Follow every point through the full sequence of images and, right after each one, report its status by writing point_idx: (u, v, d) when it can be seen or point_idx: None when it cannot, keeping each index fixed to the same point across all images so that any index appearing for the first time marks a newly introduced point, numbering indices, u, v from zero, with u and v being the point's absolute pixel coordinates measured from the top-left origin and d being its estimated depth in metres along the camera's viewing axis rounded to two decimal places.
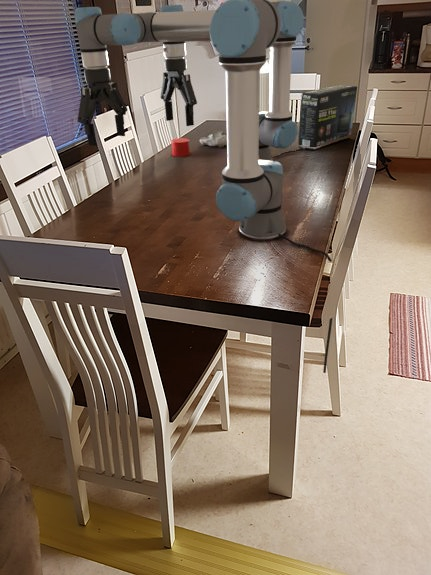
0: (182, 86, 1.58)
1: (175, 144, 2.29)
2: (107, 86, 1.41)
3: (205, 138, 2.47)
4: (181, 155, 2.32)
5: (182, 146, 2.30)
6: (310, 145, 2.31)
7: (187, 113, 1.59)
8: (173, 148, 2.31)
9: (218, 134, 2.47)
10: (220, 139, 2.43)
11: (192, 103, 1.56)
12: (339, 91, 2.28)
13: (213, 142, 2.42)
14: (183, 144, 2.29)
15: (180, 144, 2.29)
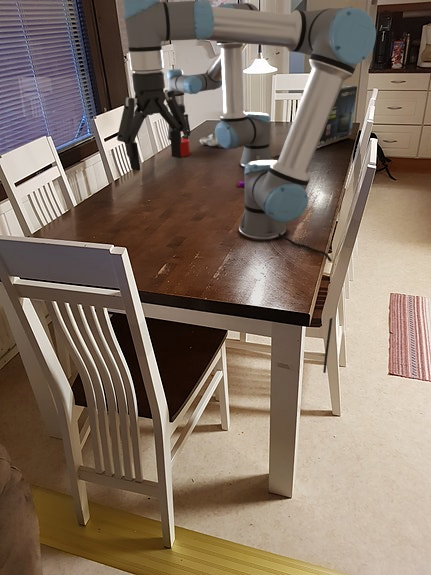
0: None
1: None
2: (160, 95, 1.09)
3: (205, 138, 2.47)
4: (181, 155, 2.32)
5: (182, 146, 2.30)
6: None
7: None
8: None
9: None
10: None
11: (169, 138, 2.25)
12: None
13: (213, 142, 2.42)
14: (183, 144, 2.29)
15: (180, 144, 2.29)
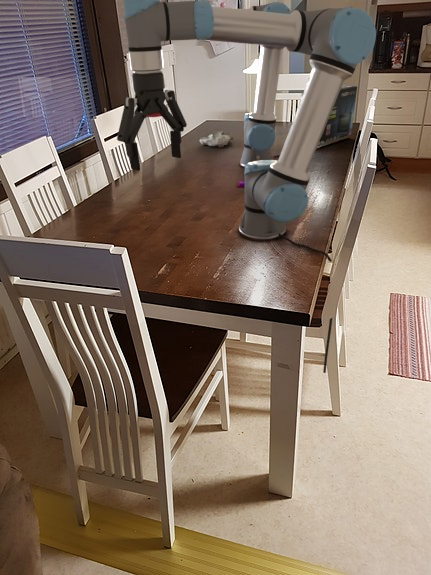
0: None
1: None
2: (160, 95, 1.09)
3: (205, 138, 2.47)
4: None
5: None
6: None
7: None
8: None
9: (218, 134, 2.47)
10: (220, 139, 2.43)
11: None
12: None
13: (213, 142, 2.42)
14: None
15: None
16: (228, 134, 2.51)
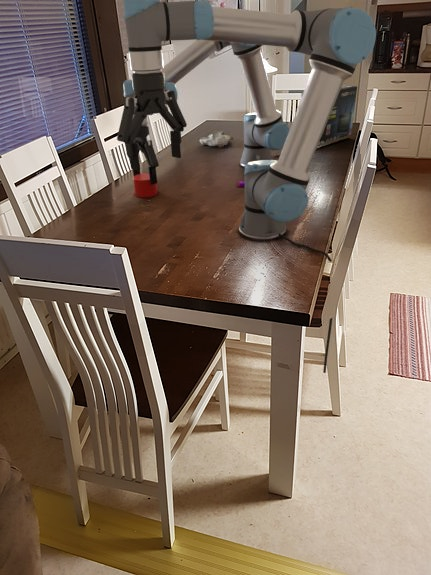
0: (145, 150, 1.74)
1: None
2: (160, 95, 1.09)
3: (205, 138, 2.47)
4: (156, 192, 1.85)
5: None
6: None
7: (150, 173, 1.75)
8: (147, 187, 1.80)
9: (218, 134, 2.47)
10: (220, 139, 2.43)
11: (154, 166, 1.72)
12: None
13: (213, 142, 2.42)
14: None
15: None
16: (228, 134, 2.51)
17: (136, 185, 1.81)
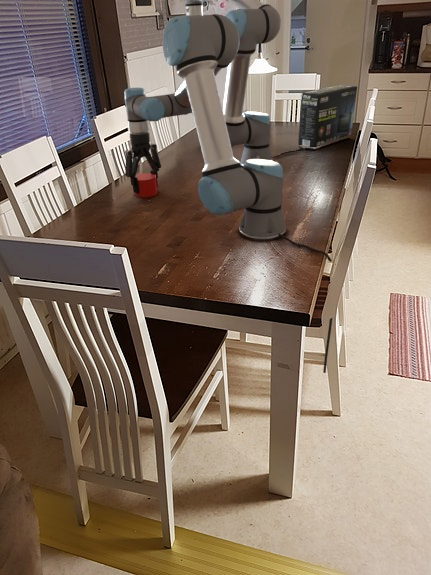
0: None
1: (150, 181, 1.80)
2: (147, 145, 1.77)
3: None
4: (156, 192, 1.85)
5: (155, 181, 1.83)
6: (310, 145, 2.31)
7: None
8: (147, 187, 1.80)
9: None
10: None
11: None
12: (339, 91, 2.28)
13: None
14: (155, 178, 1.83)
15: (155, 180, 1.82)
16: None
17: None
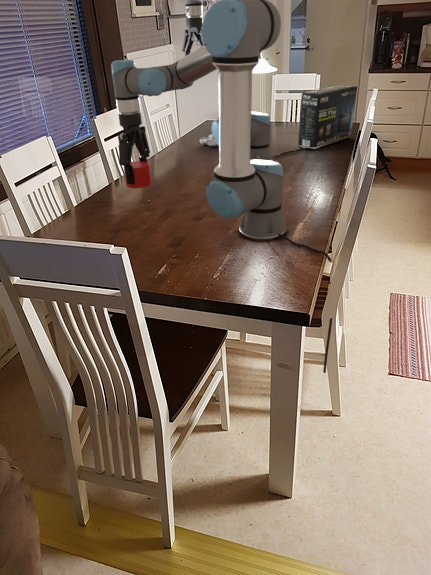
0: (199, 39, 2.08)
1: (146, 168, 1.58)
2: (138, 127, 1.55)
3: (205, 138, 2.47)
4: None
5: (149, 168, 1.61)
6: (310, 145, 2.31)
7: None
8: (144, 176, 1.58)
9: None
10: None
11: None
12: (339, 91, 2.28)
13: (213, 142, 2.42)
14: None
15: None
16: None
17: None
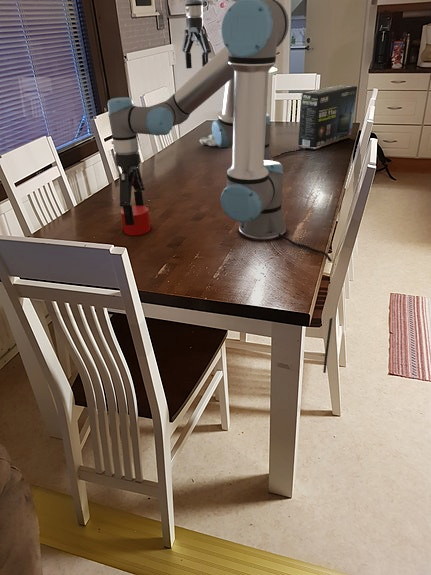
0: (199, 39, 2.08)
1: (147, 213, 1.51)
2: (134, 167, 1.46)
3: (205, 138, 2.47)
4: None
5: None
6: (310, 145, 2.31)
7: (203, 60, 2.09)
8: (145, 222, 1.51)
9: None
10: None
11: (207, 51, 2.06)
12: (339, 91, 2.28)
13: (213, 142, 2.42)
14: None
15: None
16: None
17: None
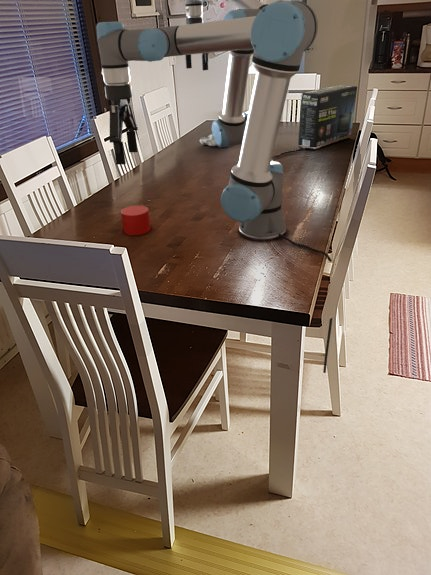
0: None
1: (147, 213, 1.51)
2: (126, 102, 1.36)
3: (205, 138, 2.47)
4: None
5: None
6: (310, 145, 2.31)
7: (203, 60, 2.09)
8: (145, 222, 1.51)
9: None
10: None
11: None
12: (339, 91, 2.28)
13: (213, 142, 2.42)
14: None
15: None
16: None
17: (132, 222, 1.49)
